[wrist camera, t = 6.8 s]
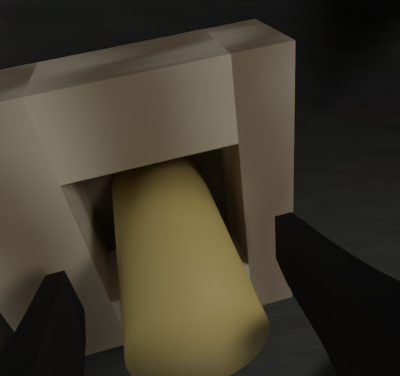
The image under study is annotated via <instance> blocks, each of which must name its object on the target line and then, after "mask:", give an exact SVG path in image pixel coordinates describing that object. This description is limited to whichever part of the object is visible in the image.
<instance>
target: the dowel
mask: <svg viewBox="0 0 400 376" xmlns="http://www.w3.org/2000/svg"><path fill="white" fill-rule="evenodd" d="M112 200H113V213H114V226H115V239H116V253H117V266H118V279H119V292H120V305H121V318H122V332H123V345H124V358H125V365H126V368H127V370H128V372H129V373H130V375H131V376H230V375H232V374H233V373H235V372H237V371H238V370H240V369H241V368H243V367H244V366H246V365H247V364H248V363H249V362H250V361H252V360H253V359H254V358H255V357H256V356H257V354H258V353H259V352H260V351H261V349H262V348H263V346H264V345H265V343H266V341H267V338H268V335H269V322H268V318H267V316H266V314H265V312H264V309H263V307H262V305H261V303H260V301H259V298H258V296H257V294H256V292H255V290H254V287H253V285H252V283H251V281H250V279H249V277H248V274H247V272H246V270H245V268H244V266H243V263H242V261H241V259H240V257H239V255H238V252H237V250H236V248H235V246H234V244H233V241H232V239H231V237H230V235H229V233H228V231H227V228H226V226H225V224H224V222H223V220H222V217H221V215H220V213H219V211H218V209H217V206H216V204H215V202H214V200H213V198H212V195H211V193H210V191H209V189H208V187H207V184H206V182H205V180H204V178H203V176H202V174H201V171H200V169H199V167H198V165H197V164H196V162H195V161H194V160H193V159H192V158H191V157H190V156H189V155H188V156H184V157H179V158H175V159H171V160H167V161H162V162H158V163H154V164H150V165H145V166H141V167H137V168H133V169H128V170H124V171H120V172H116V173H115V175H114V178H113V181H112Z"/></svg>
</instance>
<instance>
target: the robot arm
mask: <svg viewBox="0 0 400 376" xmlns="http://www.w3.org/2000/svg"><path fill="white" fill-rule="evenodd" d="M275 246H276V260H277V262H278V264H279V267H280V269H281V271H282V274H283V276H284V278H285V280H286V283H287V284H288V286H289V288H290V290H291V291H292V293H293V295H294V297H295V298H296V300H297V302H298V303H299V305H300V307H301V308H302V310H303V312H304V313H305V315H306V317H307V318H308V320H309V322H310V323H311V325H312V327H313V328H314V330H315V332H316V334H317V335H318V337H319V339H320V340H321V342H322V344H323V346H324V348H325V350H326V352H327V354H328V356H329V358H330V360H331V362H332V364H333V367H334V369H335V371H336V373H337V375H338V376H400V281H398V280H396V279H394V278H392V277H390V276H388V275H386V274H384V273H382V272H380V271H378V270H377V269H375V268H373V267H371V266H370V265H368V264H366V263H364V262H363V261H361V260H360V259H358V258H356V257H355V256H353V255H352V254H350V253H348V252H347V251H345V250H344V249H342V248H341V247H339V246H338V245H336V244H335V243H334V242H332V241H331V240H329V239H328V238H326V237H325V236H323V235H322V234H321V233H319V232H318V231H317V230H315V229H314V228H313V227H311V226H310V225H309V224H307V223H306V222H305V221H303V220H302V219H301V218H299V217H298V216H296V215H295V214H294V213H292V212H290V213H286V214H282V215H278V216H275ZM85 348H86V327H85V311H84V308H83V306H82V304H81V302H80V300H79V298H78V296H77V294H76V292H75V290H74V288H73V286H72V284H71V282H70V280H69V278H68V276H67V274H66V272H65V270H64V271H60V272H56V273H52V274H48V275H45V277H44V278H43V280H42V282H41V284H40V286H39V288H38V290H37V292H36V294H35V296H34V298H33V299H32V301H31V303H30V305H29V307H28V309H27V311H26V313H25V314H24V316H23V318H22V320H21V322H20V323H19V325H18V327H17V329H16V330H15V332H14V334H13V336H12V337H11V339H10V341H9V343H8V344H7V346H6V347H5V349H4V351H3V352H2V354H1V355H0V376H84V363H85Z"/></svg>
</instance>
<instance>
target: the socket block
mask: <svg viewBox="0 0 400 376" xmlns="http://www.w3.org/2000/svg"><path fill="white" fill-rule="evenodd" d="M294 105H295V40H294V39H292V38H290V37H288V36H286V35H284V34H283V33H281V32H279V31H277V30H275V29H273V28H271V27H269V26H268V25H266V24H264V23H262V22H260V21H258V20H256V19H252V20H247V21H242V22H237V23H232V24H227V25H222V26H217V27H212V28H207V29H202V30H197V31H192V32H187V33H182V34H177V35H172V36H167V37H162V38H157V39H152V40H147V41H142V42H137V43H132V44H127V45H122V46H117V47H112V48H107V49H102V50H97V51H92V52H87V53H82V54H77V55H72V56H67V57H62V58H57V59H52V60H47V61H42V62H37V63H32V64H27V65H22V66H17V67H12V68H7V69H2V70H0V313H1V314H2V316H3V317H4V318H5V320H6V321H7V322H8V324H9V325H10V327H11V328H12V329H13V331H14V332H15V330H16V329H17V327H18V325H19V323H20V322H21V320H22V318H23V316H24V314H25V313H26V311H27V309H28V307H29V305H30V303H31V301H32V299H33V298H34V296H35V294H36V292H37V290H38V288H39V286H40V284H41V282H42V280H43V278H44V277H45V275H48V274H52V273H56V272H60V271H64V270H65V272H66V274H67V276H68V278H69V280H70V282H71V284H72V286H73V288H74V290H75V292H76V294H77V296H78V298H79V300H80V302H81V304H82V306H83V308H84V311H85V327H86V348H85V356H86V355H90V354H93V353H97V352H100V351H104V350H107V349H111V348H114V347H118V346H121V345H123V332H122V318H121V305H120V292H119V279H118V266H117V253H116V239H115V226H114V213H113V200H112V181H113V178H114V175H115V173H116V172H120V171H124V170H128V169H133V168H137V167H141V166H145V165H150V164H154V163H158V162H162V161H167V160H171V159H175V158H179V157H184V156H188V155H189V156H190V157H191V158H192V159H193V160H194V161H195V162H196V164H197V165H198V167H199V169H200V171H201V174H202V176H203V178H204V180H205V182H206V184H207V187H208V189H209V191H210V193H211V195H212V198H213V200H214V202H215V204H216V206H217V209H218V211H219V213H220V215H221V217H222V220H223V222H224V224H225V226H226V228H227V231H228V233H229V235H230V237H231V239H232V241H233V244H234V246H235V248H236V250H237V252H238V255H239V257H240V259H241V261H242V263H243V266H244V268H245V270H246V272H247V274H248V277H249V279H250V281H251V283H252V285H253V287H254V290H255V292H256V294H257V296H258V298H259V301H260V303H261V305H265V304H268V303H272V302H275V301H279V300H282V299H286V298H289V297H292V291H291V290H290V288H289V286H288V284H287V283H286V280H285V278H284V276H283V274H282V271H281V269H280V267H279V264H278V262H277V260H276V246H275V216H278V215H282V214H286V213H290V212H292V213H293V181H294Z"/></svg>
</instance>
